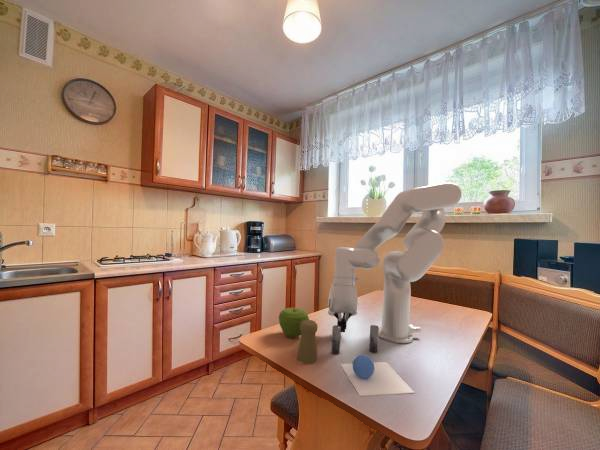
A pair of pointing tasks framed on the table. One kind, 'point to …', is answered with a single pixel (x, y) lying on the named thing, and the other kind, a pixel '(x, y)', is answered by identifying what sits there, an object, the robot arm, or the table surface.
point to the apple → (292, 321)
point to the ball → (363, 366)
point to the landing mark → (377, 381)
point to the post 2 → (373, 339)
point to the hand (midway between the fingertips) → (341, 330)
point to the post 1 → (336, 339)
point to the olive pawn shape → (307, 342)
